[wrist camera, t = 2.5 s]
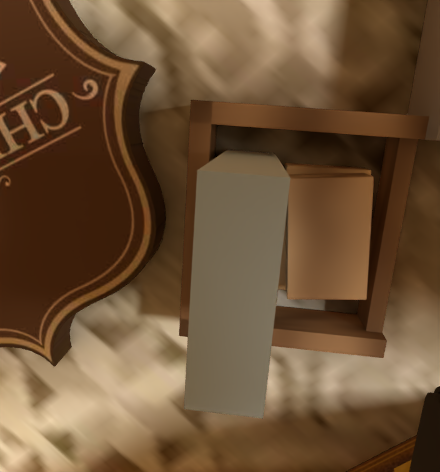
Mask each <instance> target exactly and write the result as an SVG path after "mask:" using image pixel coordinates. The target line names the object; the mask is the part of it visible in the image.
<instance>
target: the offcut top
mask: <svg viewBox="0 0 440 472" xmlns="http://www.w3.org/2000/svg"><path fill="white" fill-rule="evenodd" d="M288 175H289V176H290V186H289V195H288V204H287V213H286V258H285V287H286V293H287V299H346V300H366V299H367V282H368V265H369V249H370V232H371V215H372V198H373V182H374V177H373V176H370V175H368V174H366V173H333V174H288Z"/></svg>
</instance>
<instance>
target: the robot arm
mask: <svg viewBox="0 0 440 472" xmlns="http://www.w3.org/2000/svg"><path fill="white" fill-rule="evenodd" d="M409 472H440V386H439V387H437V388H436V389H435V391H434V393H428V394H427V395H426V398H425V401H424V406H423V410H422V415H421V419H420V424H419V428H418V433H417V437H416V442H415V446H414V451H413V455H412V460H411V464H410V469H409Z"/></svg>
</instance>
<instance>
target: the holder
mask: <svg viewBox="0 0 440 472" xmlns="http://www.w3.org/2000/svg"><path fill="white" fill-rule="evenodd" d="M407 115H415V116H429V121H428V126H427V131H426V137H425V140H435V141H440V0H428V2H427V7H426V13H425V19H424V24H423V30H422V35H421V41H420V47H419V52H418V58H417V64H416V69H415V75H414V81H413V86H412V92H411V97H410V103H409V109H408V114H407ZM422 140H424V139H422Z"/></svg>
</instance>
